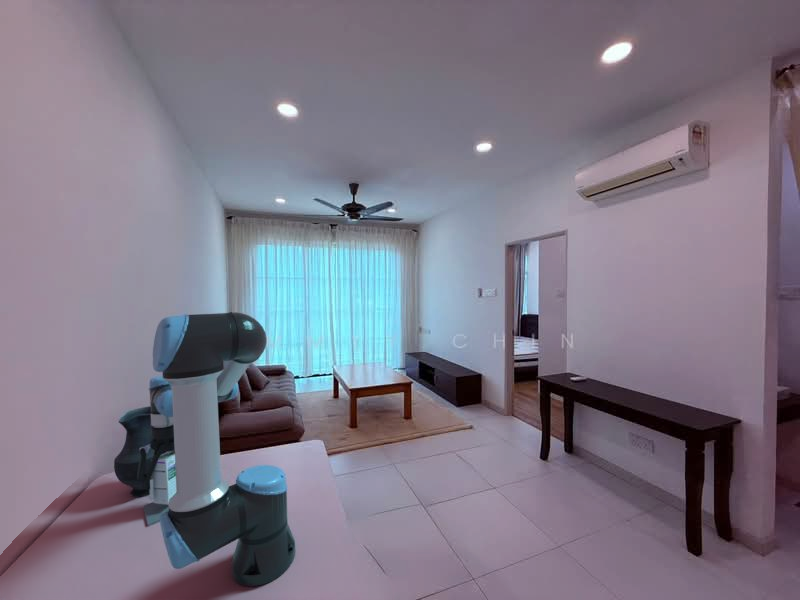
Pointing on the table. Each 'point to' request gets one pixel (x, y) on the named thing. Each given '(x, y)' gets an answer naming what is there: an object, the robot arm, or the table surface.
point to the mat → (154, 512)
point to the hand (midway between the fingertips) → (168, 491)
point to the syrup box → (164, 478)
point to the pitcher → (134, 449)
